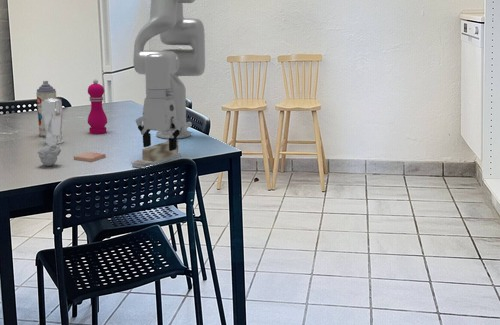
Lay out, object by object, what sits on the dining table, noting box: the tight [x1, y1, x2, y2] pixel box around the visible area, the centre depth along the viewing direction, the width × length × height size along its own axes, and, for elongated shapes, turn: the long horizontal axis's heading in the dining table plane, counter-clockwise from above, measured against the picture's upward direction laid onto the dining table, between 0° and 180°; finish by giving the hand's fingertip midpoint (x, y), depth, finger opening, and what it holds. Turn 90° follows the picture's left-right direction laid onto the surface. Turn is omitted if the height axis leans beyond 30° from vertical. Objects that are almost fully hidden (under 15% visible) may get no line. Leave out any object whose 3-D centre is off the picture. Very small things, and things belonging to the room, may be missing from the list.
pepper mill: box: [87, 79, 108, 135], centre depth 246 cm, size 7×7×20 cm
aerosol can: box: [36, 80, 57, 138], centre depth 240 cm, size 7×7×20 cm
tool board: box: [131, 152, 182, 169], centre depth 206 cm, size 19×5×1 cm, turn 153°
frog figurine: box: [37, 143, 62, 167], centre depth 199 cm, size 6×7×7 cm
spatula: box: [130, 139, 180, 166], centre depth 206 cm, size 20×5×4 cm, turn 152°
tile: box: [73, 151, 106, 163], centre depth 209 cm, size 2×7×7 cm
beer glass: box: [42, 98, 64, 145], centre depth 229 cm, size 7×7×15 cm
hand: (159, 148), depth 207 cm, fingers open, 9 cm apart
